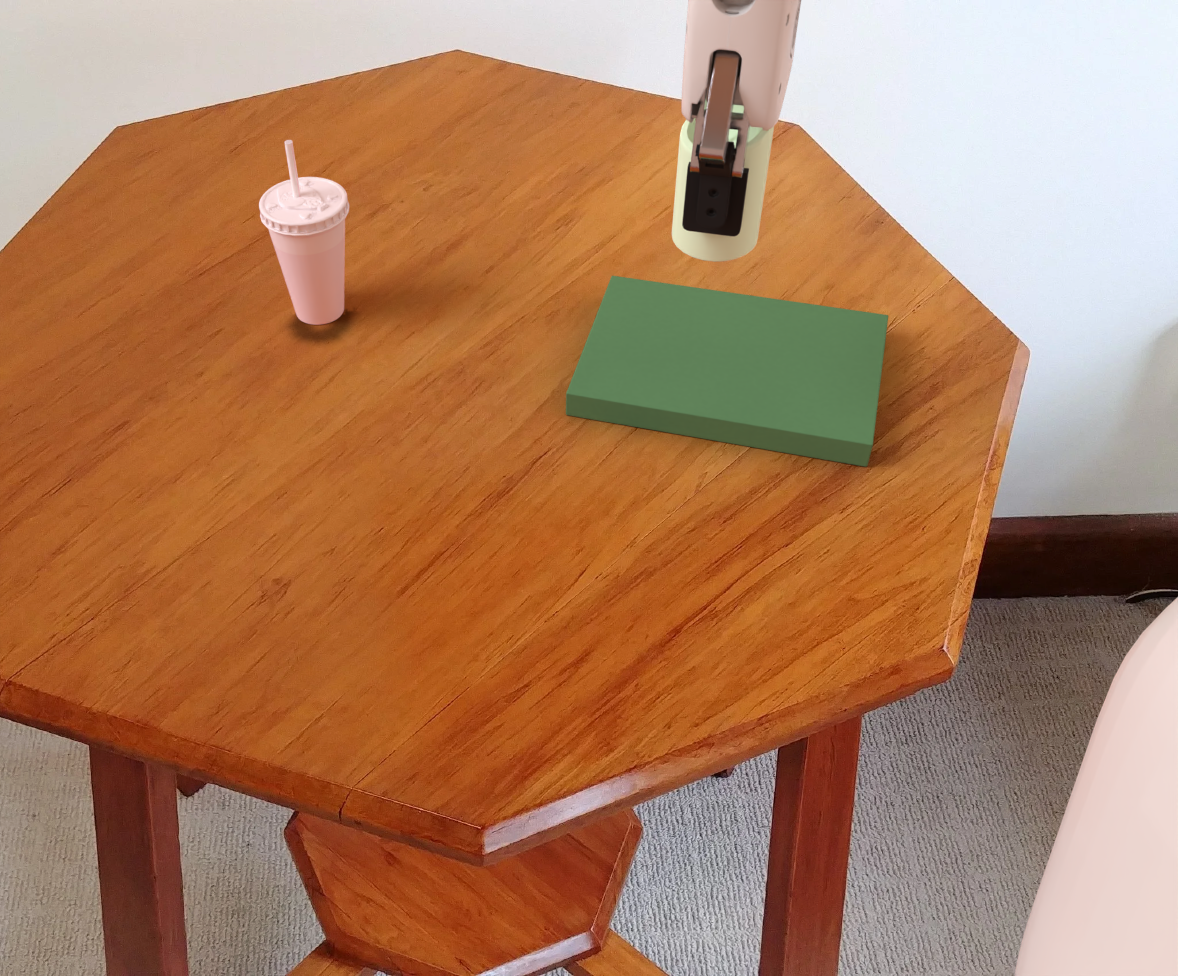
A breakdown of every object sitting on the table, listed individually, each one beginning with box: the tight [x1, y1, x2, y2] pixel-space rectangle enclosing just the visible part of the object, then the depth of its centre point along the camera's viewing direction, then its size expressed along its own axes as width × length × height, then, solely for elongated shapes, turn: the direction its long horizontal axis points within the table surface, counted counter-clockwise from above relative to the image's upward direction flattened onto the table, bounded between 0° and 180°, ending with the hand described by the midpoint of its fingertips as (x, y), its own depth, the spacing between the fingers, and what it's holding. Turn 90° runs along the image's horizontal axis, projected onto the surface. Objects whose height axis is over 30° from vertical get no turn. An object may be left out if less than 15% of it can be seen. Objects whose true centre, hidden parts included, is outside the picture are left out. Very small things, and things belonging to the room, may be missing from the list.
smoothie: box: [258, 139, 350, 326], centre depth 90 cm, size 6×6×14 cm
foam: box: [565, 275, 889, 468], centre depth 86 cm, size 20×14×2 cm
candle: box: [671, 105, 775, 263], centre depth 70 cm, size 5×5×8 cm
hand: (718, 202), depth 71 cm, fingers closed on candle, 4 cm apart
